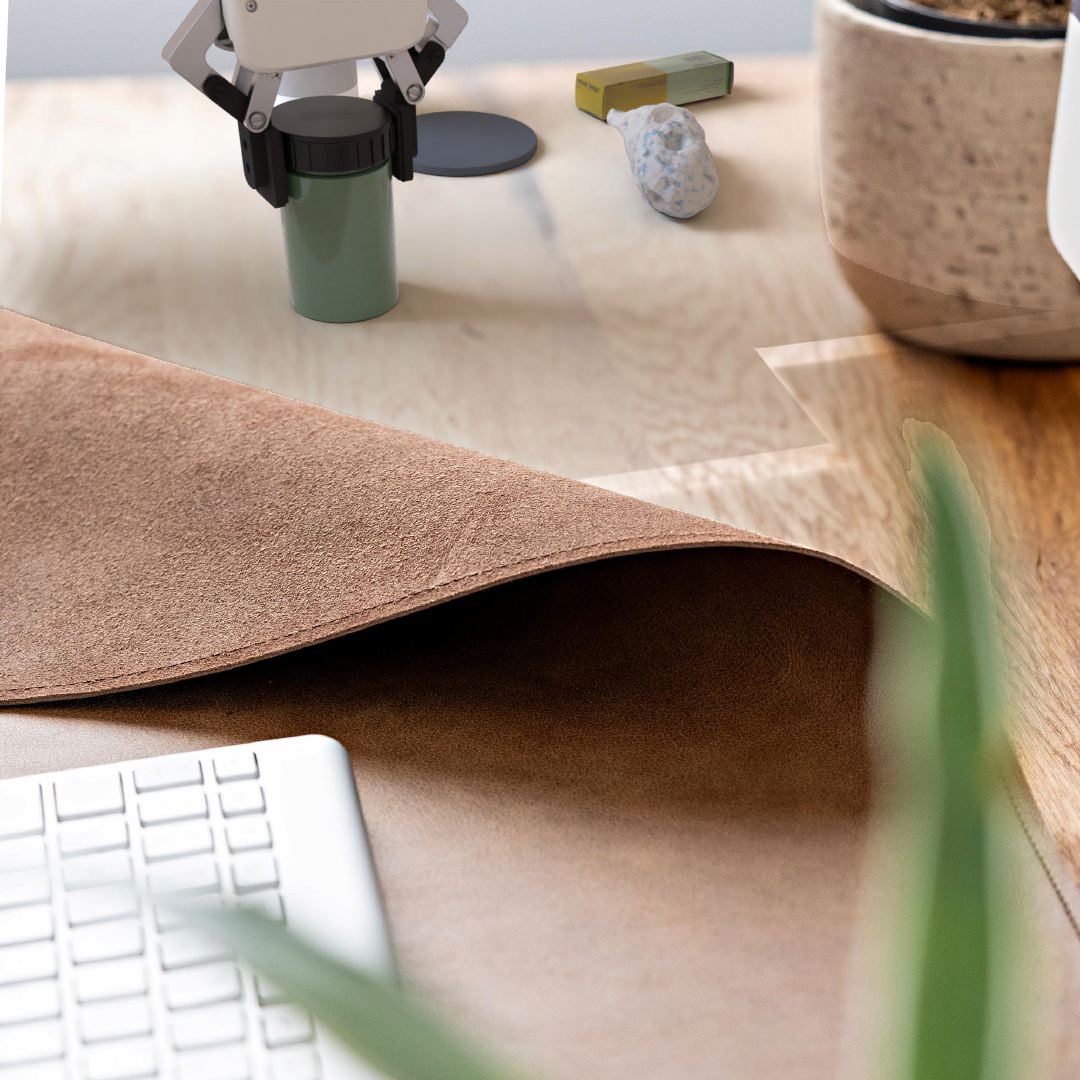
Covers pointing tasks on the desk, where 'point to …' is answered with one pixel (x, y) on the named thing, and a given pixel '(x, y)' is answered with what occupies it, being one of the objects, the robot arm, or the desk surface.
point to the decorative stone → (668, 157)
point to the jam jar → (341, 243)
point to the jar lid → (334, 133)
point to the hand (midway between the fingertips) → (334, 182)
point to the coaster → (471, 143)
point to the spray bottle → (319, 82)
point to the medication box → (654, 83)
